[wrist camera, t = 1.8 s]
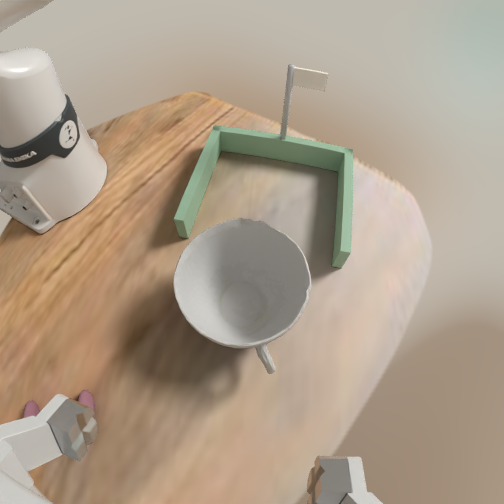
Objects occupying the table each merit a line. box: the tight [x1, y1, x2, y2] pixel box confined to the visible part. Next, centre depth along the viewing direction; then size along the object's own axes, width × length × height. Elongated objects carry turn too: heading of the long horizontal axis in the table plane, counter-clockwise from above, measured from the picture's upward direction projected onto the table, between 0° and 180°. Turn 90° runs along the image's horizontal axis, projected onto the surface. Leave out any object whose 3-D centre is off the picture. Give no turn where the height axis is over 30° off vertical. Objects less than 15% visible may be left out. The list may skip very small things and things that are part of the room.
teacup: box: [173, 218, 311, 374], centre depth 31 cm, size 15×12×8 cm
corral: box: [174, 64, 353, 268], centre depth 36 cm, size 20×17×16 cm
